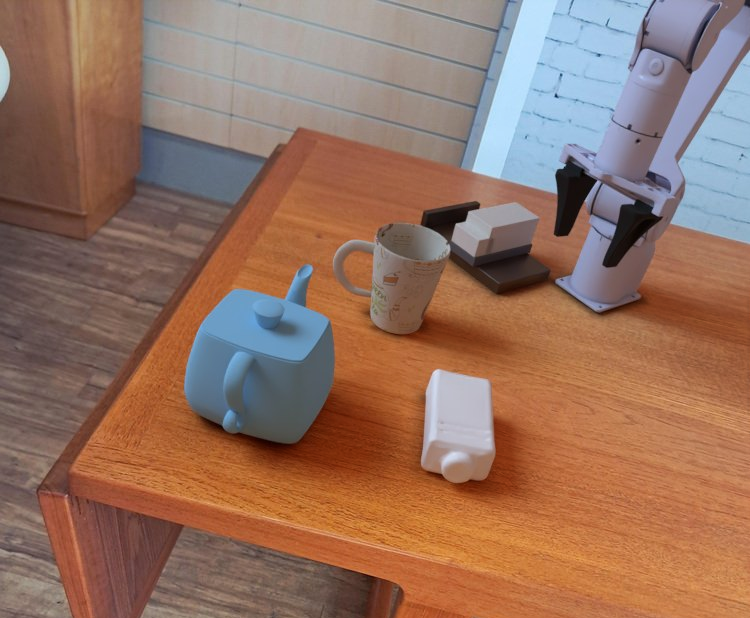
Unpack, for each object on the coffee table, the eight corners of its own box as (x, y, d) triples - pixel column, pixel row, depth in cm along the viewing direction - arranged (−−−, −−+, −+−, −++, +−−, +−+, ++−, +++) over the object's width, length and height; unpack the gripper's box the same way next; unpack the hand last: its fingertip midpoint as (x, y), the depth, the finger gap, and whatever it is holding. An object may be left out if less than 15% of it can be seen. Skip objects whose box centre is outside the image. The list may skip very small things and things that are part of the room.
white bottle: (417, 483, 73) (428, 449, 70) (423, 398, 82) (432, 365, 79) (485, 496, 73) (498, 463, 70) (483, 411, 82) (495, 378, 79)
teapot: (351, 371, 83) (370, 275, 75) (290, 477, 70) (305, 374, 62) (242, 335, 84) (249, 236, 76) (162, 433, 71) (161, 327, 63)
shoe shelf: (469, 223, 113) (475, 200, 111) (547, 279, 105) (556, 255, 103) (417, 234, 108) (423, 210, 105) (496, 294, 100) (504, 269, 98)
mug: (424, 348, 88) (445, 268, 81) (317, 319, 89) (329, 237, 82) (434, 311, 94) (455, 234, 87) (334, 284, 95) (347, 205, 88)
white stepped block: (505, 235, 109) (515, 200, 106) (530, 252, 107) (542, 218, 103) (447, 248, 103) (457, 212, 100) (472, 267, 101) (483, 230, 97)
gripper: (563, 100, 83) (518, 223, 91) (671, 155, 75) (611, 283, 84) (602, 103, 87) (555, 221, 95) (709, 155, 79) (648, 277, 88)
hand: (584, 250), depth 90 cm, fingers open, 7 cm apart
